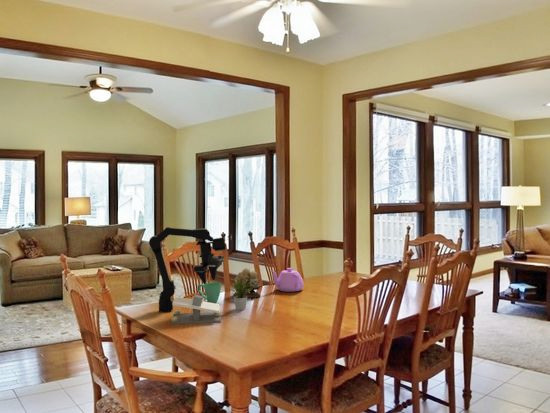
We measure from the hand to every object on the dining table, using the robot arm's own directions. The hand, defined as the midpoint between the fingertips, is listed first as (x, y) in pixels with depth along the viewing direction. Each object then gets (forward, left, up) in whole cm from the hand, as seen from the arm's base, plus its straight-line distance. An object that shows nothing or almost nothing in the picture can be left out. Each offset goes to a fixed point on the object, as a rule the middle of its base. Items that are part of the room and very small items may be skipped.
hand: (209, 281), depth 253 cm
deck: (-6, -21, -8) cm, 23 cm away
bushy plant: (+21, +26, -14) cm, 36 cm away
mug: (-1, +16, -14) cm, 21 cm away
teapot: (+46, +39, -14) cm, 62 cm away
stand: (-6, -21, -14) cm, 26 cm away
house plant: (+16, -5, -14) cm, 22 cm away
